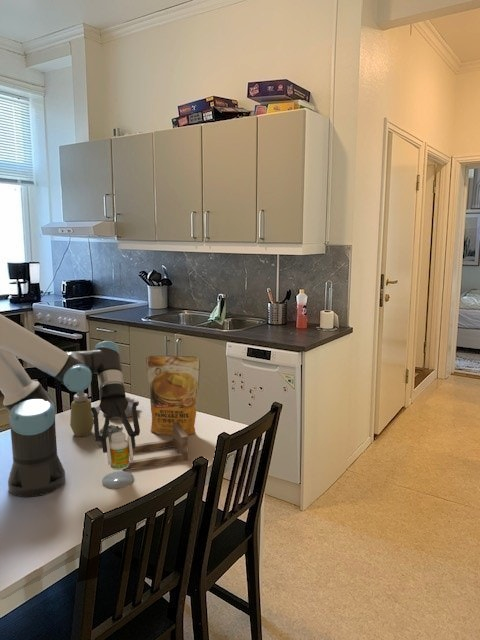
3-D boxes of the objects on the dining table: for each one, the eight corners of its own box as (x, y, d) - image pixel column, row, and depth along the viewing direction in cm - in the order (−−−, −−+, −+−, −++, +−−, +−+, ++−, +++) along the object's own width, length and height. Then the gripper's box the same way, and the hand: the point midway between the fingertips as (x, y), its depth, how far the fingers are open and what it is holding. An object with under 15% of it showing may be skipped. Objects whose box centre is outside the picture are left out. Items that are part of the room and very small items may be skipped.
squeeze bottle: (94, 427, 181) (91, 380, 178) (94, 436, 173) (92, 387, 170) (70, 430, 178) (68, 382, 175) (70, 439, 171) (67, 390, 167)
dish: (118, 422, 186) (118, 410, 185) (93, 415, 194) (93, 403, 193) (145, 411, 198) (145, 399, 197) (121, 404, 205) (121, 393, 204)
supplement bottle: (116, 472, 139) (114, 440, 137) (106, 466, 143) (104, 434, 141) (133, 466, 143) (131, 434, 141) (123, 459, 147) (121, 429, 145)
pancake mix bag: (150, 426, 182) (148, 353, 177) (201, 429, 181) (200, 355, 175) (145, 434, 176) (142, 358, 170) (197, 436, 174) (197, 360, 169)
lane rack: (122, 470, 150) (121, 445, 148) (117, 452, 161) (116, 429, 160) (188, 459, 157) (187, 436, 155) (179, 443, 168) (178, 421, 167)
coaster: (103, 490, 138) (103, 489, 138) (100, 475, 146) (100, 474, 146) (135, 485, 141) (135, 483, 141) (131, 470, 149) (131, 469, 149)
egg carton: (115, 447, 166) (115, 435, 165) (94, 446, 167) (93, 434, 166) (125, 433, 176) (124, 423, 176) (104, 433, 177) (104, 422, 176)
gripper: (140, 390, 157) (152, 460, 145) (80, 397, 151) (86, 471, 139) (142, 378, 151) (154, 451, 139) (80, 385, 145) (86, 462, 133)
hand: (120, 461), depth 139 cm, fingers closed on supplement bottle, 5 cm apart
